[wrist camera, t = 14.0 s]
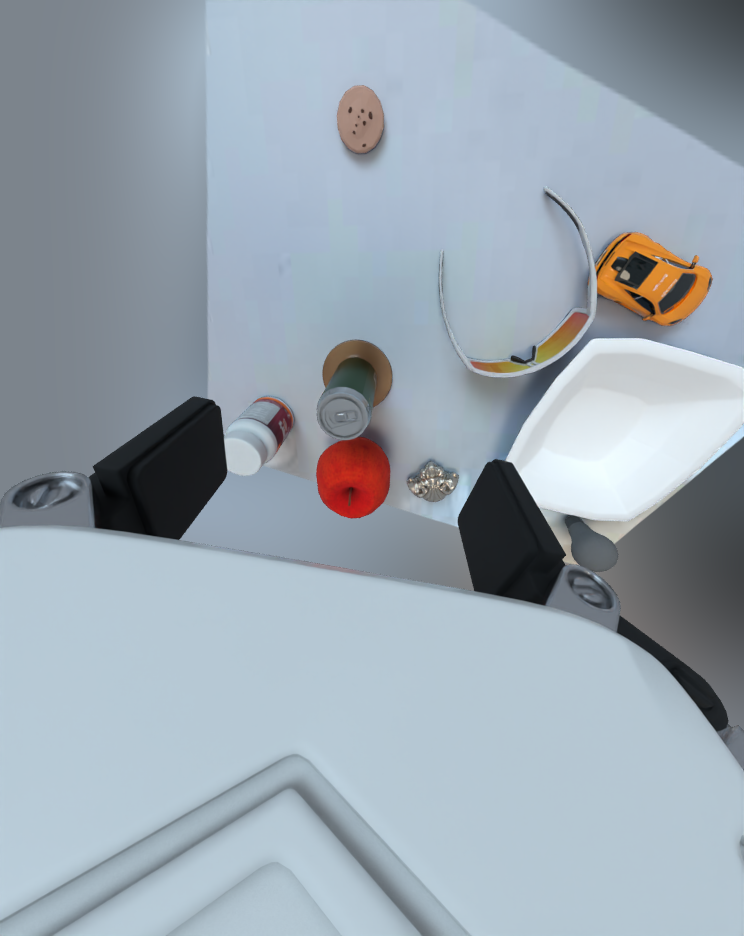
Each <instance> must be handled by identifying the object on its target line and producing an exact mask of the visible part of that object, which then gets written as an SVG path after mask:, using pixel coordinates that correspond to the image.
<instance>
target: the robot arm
mask: <svg viewBox="0 0 744 936" xmlns="http://www.w3.org/2000/svg"><path fill="white" fill-rule="evenodd" d="M93 468H94V470H95V473H94V474H92V475H91V476H90V477H87V476H85V475H84V474H81V473H77V472H66V471H62V472H52V473H47V474H42V475H38V476H35V477H32V478H30V479H27V480H24V481H22V482H20V483H18V484H17V485H15V486H13V487H12V488H11V489H9V490H8V491H7V492H6V493H5V494H4V496H3V498H2V499H1V503H0V936H744V730H743V729H742V728H741V727H740V726H739V725H737V726H734V727H731V726H730V725H729V724H728V717H727V713H726V710H725V708H724V706H723V704H722V702H721V700H720V699H719V698H718V696H717V695H716V693H715V692H714V691H713V689H712V688H711V686H710V685H709V684H708V683H707V682H706V681H705V680H704V679H703V678H702V677H701V676H700V675H698V674H697V673H696V672H695V671H693V670H692V669H691V668H690V667H688V666H687V665H686V664H684V663H683V662H682V661H680V660H679V659H678V658H676V657H675V656H674V655H672V654H671V653H670V652H668V651H667V650H666V649H664V648H663V647H662V646H660V645H659V644H658V643H656V642H655V641H653V640H652V639H651V638H649V637H648V636H647V635H645V634H644V633H643V632H641V631H640V630H639V629H637V628H636V627H635V626H633V625H632V624H631V623H629V622H628V621H627V620H625V619H624V618H622V617H621V616H620V609H621V608H620V601H619V599H618V597H617V594H616V593H615V592H614V590H613V589H612V588H611V586H610V585H608V583H607V582H606V581H605V580H604V579H602V578H601V577H600V576H598V575H597V574H596V573H594V572H593V571H591V570H589V569H587V568H585V567H582V566H579V565H574V564H569V565H565V564H564V562H563V560H562V559H563V558H564V557H565V556H566V554H565V552H564V550H563V549H562V547H561V545H560V543H559V542H558V540H557V538H556V537H555V535H554V533H553V531H552V530H551V528H550V526H549V525H548V523H547V521H546V519H545V518H544V516H543V514H542V513H541V511H540V509H539V507H538V506H537V504H536V502H535V501H534V499H533V497H532V495H531V494H530V492H529V490H528V489H527V487H526V485H525V483H524V482H523V480H522V478H521V477H520V475H519V473H518V471H517V470H516V468H515V466H514V465H513V463H511V462H507V461H502V460H497V459H495V460H493V461H492V462H488V463H487V464H486V465H485V467H484V469H483V471H482V473H481V475H480V476H479V478H478V480H477V482H476V484H475V486H474V488H473V490H472V491H471V493H470V495H469V497H468V499H467V501H466V503H465V504H464V506H463V508H462V510H461V512H460V514H459V517H458V526H459V530H460V534H461V538H462V542H463V547H464V551H465V554H466V559H467V562H468V567H469V571H470V575H471V579H472V583H473V587H474V591H471V590H465V589H460V588H454V587H448V586H443V585H437V584H432V583H426V582H420V581H415V580H409V579H404V578H398V577H392V576H387V575H381V574H376V573H370V572H364V571H358V570H353V569H347V568H341V567H335V566H330V565H324V564H318V563H311V562H306V561H300V560H295V559H289V558H283V557H277V556H271V555H265V554H260V553H253V552H248V551H242V550H235V549H229V548H224V547H218V546H212V545H206V544H200V543H193V542H188V541H181V540H179V539H180V538H181V537H182V535H183V534H184V533H185V532H186V530H187V529H188V528H189V526H190V525H191V524H192V522H193V521H194V520H195V518H196V517H197V516H198V514H199V513H200V512H201V510H202V509H203V508H204V506H205V505H206V504H207V502H208V501H209V500H210V498H211V497H212V496H213V494H214V493H215V492H216V490H217V489H218V488H219V486H220V485H221V484H222V483H223V481H224V480H225V478H226V475H227V462H226V453H225V444H224V435H223V426H222V417H221V409H220V407H219V406H217V405H216V404H215V402H214V401H213V400H209V399H204V398H200V397H192V398H190V399H189V400H187V401H186V402H185V403H183V404H182V405H180V406H179V407H177V408H176V409H174V410H173V411H172V412H170V413H169V414H167V415H166V416H164V417H163V418H162V419H160V420H159V421H157V422H156V423H154V424H153V425H151V426H150V427H149V428H147V429H146V430H144V431H143V432H141V433H140V434H138V435H137V436H136V437H134V438H133V439H131V440H130V441H128V442H127V443H126V444H124V445H123V446H121V447H120V448H118V449H117V450H116V451H114V452H113V453H111V454H110V455H108V456H107V457H105V458H104V459H103V460H101V461H100V462H98V463H97V464H96V465H94V466H93Z"/></svg>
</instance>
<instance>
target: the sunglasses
mask: <svg viewBox="0 0 744 936" xmlns="http://www.w3.org/2000/svg"><path fill="white" fill-rule="evenodd" d="M544 192H545V194H546V195H548V196H549V197H550V198H551V199H553V200H554V201H555V202H556V203H557V204H558V205H560V206H561V207H562V208H563V210H564V211H565V212H566V213H567V214H568V215H569V216H570V218H571V219H572V221H573V222H574V224H575V225H576V227H577V229H578V231H579V234H580V237H581V240H582V243H583V246H584V248H585V251H586V254H587V258H588V263H589V274H590V278H589V285H588V292H587V301H588V302H587V308H574V309H572V310H571V312H570V313H569V314H568V315H567V317H566V318H565V319H564V320H563V321H562V322H561V323H560V325H559V326H558V327H557V328H556V329H555V330H554V331H553V332H552V333H551V334H550V335H548V336H547V337H546V338H545V339H544V340H543V341H542V342H540V343H539V344H538V345H537V346H533V350H532V358H531V359H528V360H526V361H524V360H522V359H520V358H518V357H515V356H511V359H503V360H494V361H484V360H475V359H471V358H468V359H467V357H466V356H465V355H464V353H463V352H462V350H461V348H460V347H459V345H458V344H457V342H456V340H455V338H454V336H453V334H452V332H451V329H450V326H449V323H448V320H447V317H446V313H445V308H444V301H443V291H442V264H443V249H441V253H440V264H439V294H440V303H441V309H442V314H443V318H444V322H445V325H446V328H447V331H448V334H449V337H450V339H451V341H452V344H453V346H454V348H455V350H456V352H457V354H458V355H459V357H460V358H461V360H462V361H463V363H464V365H465V366H466V368H467V369H468V370H470V371H473V372H475V373H478V374H481V375H485V376H490V377H495V378H509V377H517V376H522V375H526V374H529V373H532V372H535V371H537V370H540V369H542V368H544V367H546V366H548V365H550V364H551V363H553V362H555V361H556V360H558V359H559V358H560V357H562V356H563V355H565V354H566V353H567V352H568V351H569V350H570V349H571V348H573V347H574V346H575V345H576V343H577V342H578V341H579V340H580V339H581V337H582V336H583V335H584V333H585V332H586V331H587V329H588V328H589V326H590V325H591V323H592V321H593V320H594V317H595V313H596V308H597V277H596V269H595V264H594V259H593V254H592V250H591V247H590V243H589V240H588V237H587V234H586V231H585V228H584V226H583V224H582V222H581V221H580V219H579V218H578V216H577V215H576V214H575V212H574V211H573V209H572V208H571V207H570V206H569V205H568V204H567V203H566V202H565V201H564V200H562V199H561V198H560V197H559V196H558V195H557V194H555V193H554V192H553V191H552V190H550V189H549V188H548V187H546V186H545V187H544Z"/></svg>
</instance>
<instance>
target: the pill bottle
mask: <svg viewBox="0 0 744 936" xmlns="http://www.w3.org/2000/svg"><path fill="white" fill-rule="evenodd" d="M293 423H294V418H293V414H292V411H291V409H290V408H289V407H288V405H287V404H286V403H284V402H283V401H282V400H280V399H278V398H275V397H270V396H266V397H261V398H259V399H257V400H256V401H255V402H254V403H253V404H251V405H250V406H249V407H248V408H247V409H246V410H245V411H244V412H243V413H242V414H241V415H240V416H239V417H238V418H237V419H236V420H235V421H234V422H233V423H232V424H231V425H230V426H229V427H228V429H227V431H226V435H225V436H224V444H225V453H226V462H227V470H229V471H230V472H233V473H235V474H237V475H242V476H249V475H253V474H255V473H256V472H258V471H259V470H260V468H261V467H262V465H263V464H264V463H267V462H268V461H270V460H271V459H272V458H273V457H274V455H275V454H276V452H277V451H278V449H279V448H280V446H281V445H282V443H283V442H284V440H285V439H286V437H287V435H288V434H289V432H290V430H291V429H292V427H293Z"/></svg>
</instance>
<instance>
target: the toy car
mask: <svg viewBox="0 0 744 936" xmlns="http://www.w3.org/2000/svg"><path fill="white" fill-rule="evenodd" d="M698 260H699V257H698V256H697V255H695V256H694V259H693V261H692V262H693V263H694V264H693V263H692V264H691V263H689V262H687V261H684V260H682V259H680V258H678V257H677V256H675V255H674V254H672V253H671V252H670V251H667V250H666V249H665V248H663V247H662V246H661V245H660V244H659V243H656V242H654V241H653V240H652V239H651V238H649V237H648V236H647V235H645V234H642V233H638V232H627V233H623V234H621V235H620V236H618V237H617V238H616V239H615V240H614V241H613V242H612V243H611V244H610V245H609V246H608V247H607V248H606V250H605V251H604V252H603V253H602V255H601V256H600V258H599V259H598V260H597V262H596V264H595V269H596V277H597V294H599V295H602V296H604V297H605V298H606V299H610V300H613V301H615V302H617V303H619V304H621V305H623V306H625V308H627V309H629V310H631V311H633V312H635V313H637V314H639V315H641V316H642V317H644V318H643V319H642V320H643V321H646V320H652V321H654V322H656V323H658V324H660V325H661V326H672V325H674V324H677V323H678V322H680V321H682V320H684V319H685V318H686V317H688V316H689V315H690V314H691V313H692V312H693V311H694V310H695V309H696V308H697V307H698V306H699V305H700V304H701V303H702V301H703V300H704V298H705V297H706V295H707V294H708V291H709V289H710V287H711V284H712V280H713V278H712V275H711V273H710V271H709V270H708V269H707V268H705V267H702V266H699V265H696V263H697V262H698ZM589 278H590V276H589ZM588 285H589V279H588Z"/></svg>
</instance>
